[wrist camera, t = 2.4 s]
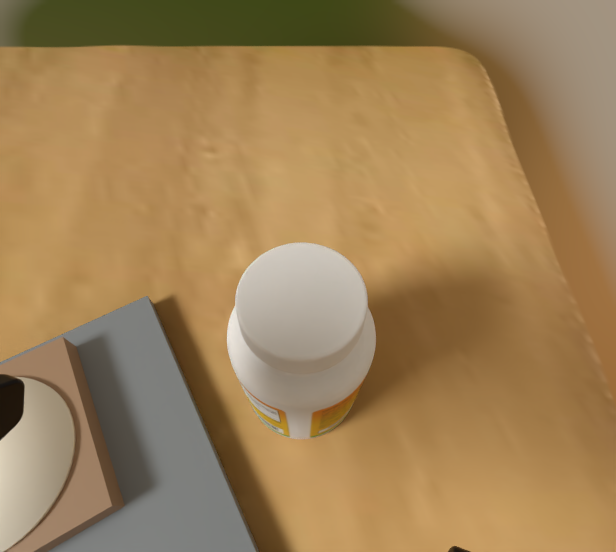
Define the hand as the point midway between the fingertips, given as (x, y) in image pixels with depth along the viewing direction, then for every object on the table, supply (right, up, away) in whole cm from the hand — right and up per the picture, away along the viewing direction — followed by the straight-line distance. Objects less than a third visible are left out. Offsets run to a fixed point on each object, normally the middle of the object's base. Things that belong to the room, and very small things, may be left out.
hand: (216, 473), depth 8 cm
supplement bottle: (+1, -2, +13) cm, 13 cm away
